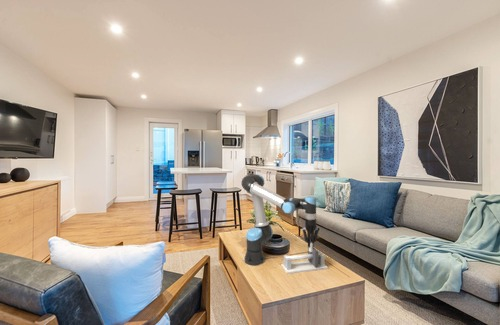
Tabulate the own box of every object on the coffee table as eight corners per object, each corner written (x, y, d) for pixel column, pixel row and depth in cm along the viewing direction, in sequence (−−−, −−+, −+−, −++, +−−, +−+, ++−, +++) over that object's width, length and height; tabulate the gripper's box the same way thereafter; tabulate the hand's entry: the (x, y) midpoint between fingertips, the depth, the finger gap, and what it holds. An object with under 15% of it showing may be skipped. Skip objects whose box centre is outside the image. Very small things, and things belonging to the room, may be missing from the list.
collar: (315, 267, 161) (315, 251, 160) (308, 260, 171) (308, 245, 171) (318, 266, 161) (318, 251, 161) (311, 259, 172) (311, 245, 171)
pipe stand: (287, 273, 156) (287, 260, 155) (281, 265, 168) (281, 252, 167) (327, 268, 162) (327, 255, 162) (319, 261, 174) (319, 249, 173)
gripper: (304, 220, 159) (304, 254, 160) (321, 219, 162) (321, 252, 163) (299, 217, 167) (299, 250, 168) (316, 216, 169) (316, 248, 170)
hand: (310, 251), depth 165 cm, fingers closed
